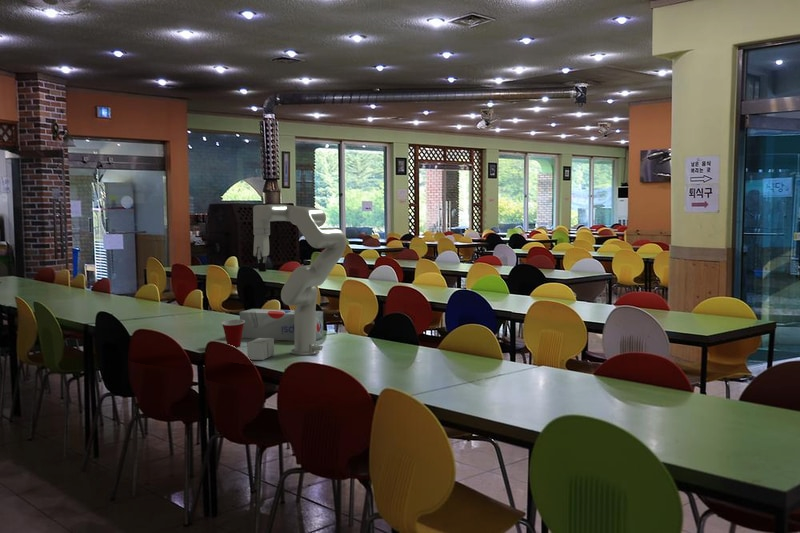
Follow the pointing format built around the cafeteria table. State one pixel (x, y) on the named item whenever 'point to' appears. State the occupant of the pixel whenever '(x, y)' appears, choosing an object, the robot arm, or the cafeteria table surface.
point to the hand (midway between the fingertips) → (262, 271)
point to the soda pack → (274, 324)
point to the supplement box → (260, 348)
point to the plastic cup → (233, 331)
